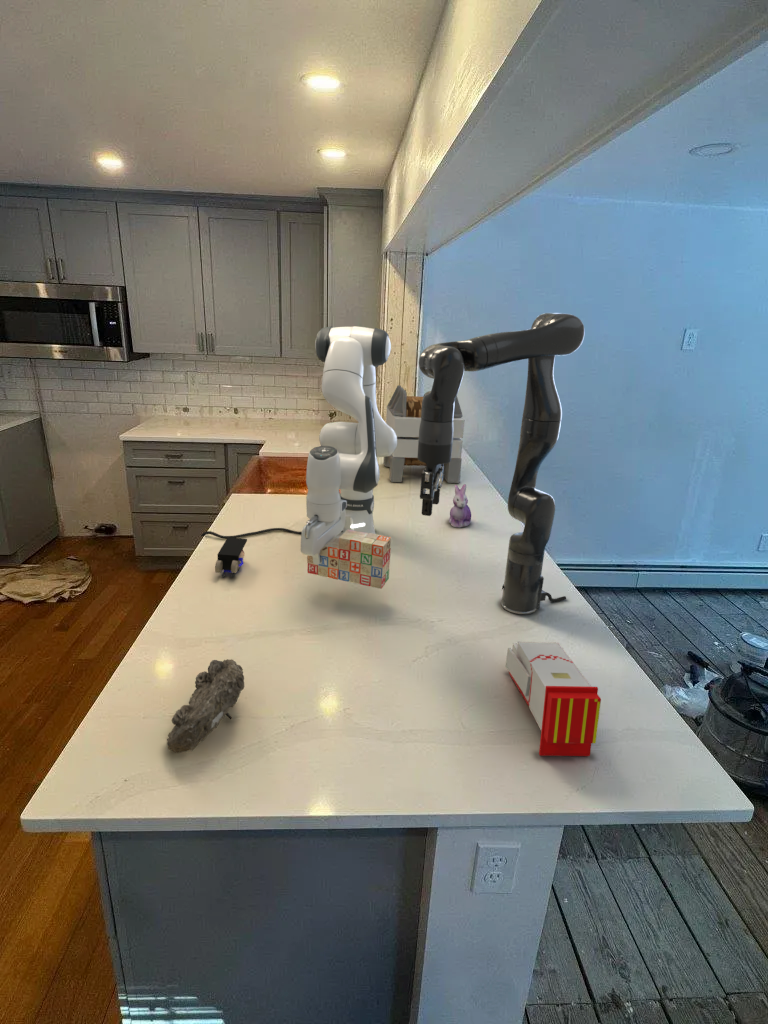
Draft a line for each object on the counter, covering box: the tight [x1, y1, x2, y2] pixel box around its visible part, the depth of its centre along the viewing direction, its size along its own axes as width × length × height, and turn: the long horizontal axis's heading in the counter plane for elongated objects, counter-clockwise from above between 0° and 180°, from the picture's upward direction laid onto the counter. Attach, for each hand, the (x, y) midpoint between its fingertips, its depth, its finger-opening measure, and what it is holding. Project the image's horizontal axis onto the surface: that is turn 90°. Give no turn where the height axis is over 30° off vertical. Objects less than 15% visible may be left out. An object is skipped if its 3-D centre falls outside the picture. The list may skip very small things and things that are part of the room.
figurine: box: [448, 483, 472, 528], centre depth 209 cm, size 9×10×15 cm
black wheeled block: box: [214, 537, 248, 578], centre depth 166 cm, size 7×8×15 cm
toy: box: [505, 641, 602, 757], centre depth 113 cm, size 12×13×30 cm
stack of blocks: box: [306, 529, 392, 590], centre depth 149 cm, size 21×6×12 cm, turn 71°
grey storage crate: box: [383, 384, 465, 484], centre depth 268 cm, size 34×33×41 cm
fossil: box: [166, 658, 245, 754], centre depth 106 cm, size 22×10×15 cm
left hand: (323, 557), depth 152 cm, fingers closed on stack of blocks, 6 cm apart
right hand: (430, 509), depth 130 cm, fingers open, 8 cm apart
